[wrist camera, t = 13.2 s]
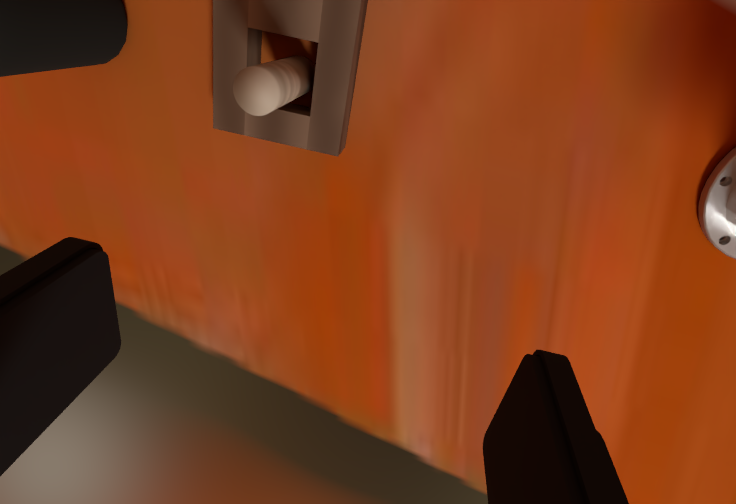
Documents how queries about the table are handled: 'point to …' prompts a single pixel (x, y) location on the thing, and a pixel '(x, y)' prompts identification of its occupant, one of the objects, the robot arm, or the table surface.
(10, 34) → the wine bottle
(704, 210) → the robot arm
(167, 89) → the table surface
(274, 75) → the birch peg
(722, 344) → the table surface
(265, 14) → the walnut hole block
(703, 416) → the table surface
